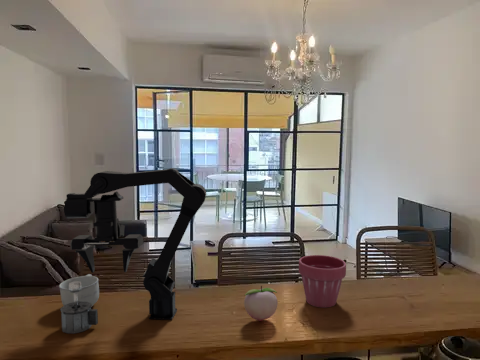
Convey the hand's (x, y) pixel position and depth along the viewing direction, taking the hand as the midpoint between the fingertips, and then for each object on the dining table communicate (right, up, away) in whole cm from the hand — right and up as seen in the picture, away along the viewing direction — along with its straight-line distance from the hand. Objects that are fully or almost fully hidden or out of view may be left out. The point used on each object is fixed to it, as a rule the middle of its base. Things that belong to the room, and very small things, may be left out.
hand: (109, 271), depth 111 cm
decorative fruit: (+43, -13, -2) cm, 45 cm away
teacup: (-11, -12, +9) cm, 19 cm away
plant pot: (+62, -12, +11) cm, 64 cm away
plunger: (-7, -9, -6) cm, 13 cm away
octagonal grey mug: (-7, -13, -5) cm, 16 cm away
